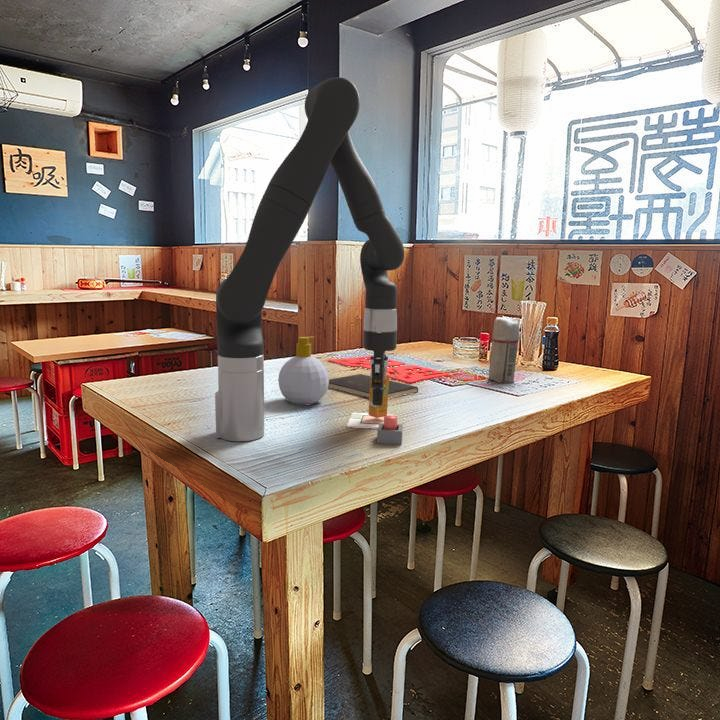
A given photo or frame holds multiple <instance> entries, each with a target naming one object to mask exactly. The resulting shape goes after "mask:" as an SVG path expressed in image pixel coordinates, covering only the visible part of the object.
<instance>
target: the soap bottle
mask: <svg viewBox="0 0 720 720" xmlns="http://www.w3.org/2000/svg"><path fill="white" fill-rule="evenodd" d="M311 339H312V340H313V339H315V336H299V337H298V343H296V349H295V350H296V351H295V352H296V355H295V356H294V357H293V356H292V357H291V358H289V359H288V360H287V361H286V362H285V363H284V364H283V365H282V367H281V368H280V370H279V373H278V379H277V381H278V387H279V388H278V389H279V390H280V392H281V395H282V396H283V397H284V398H285V400H286V401H288V402H289V403H290V404H293V405H296V406H297V405H298V406H310V405H314V404H316V403H317V402H319V401H320V400H321V399H322V398H323V397H324V396H325V395H326V393H327V391H328V389H329V387H328V385H329V379H330V378H329V373H328V370H327V368H326V367H325V365H324V364H323V363H322V362H321V361H320V360H319V359H318V358H316V357H314V356H312V343H310V341H309V340H311Z"/></svg>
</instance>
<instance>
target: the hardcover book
mask: <svg viewBox="0 0 720 720" xmlns="http://www.w3.org/2000/svg"><path fill="white" fill-rule="evenodd" d="M329 387H331V388H330V389H333V388H335V389H334V390H337V389H339V390H338V391H341V390H343V391H342V392H344V391H347V392H346V393H348V392H351V393H350V394H352V393H355V394H354V395H356V394H358V395H357V396H359V395H362V396H361V397H363V396H366V397H365V398H367V397H369V393H370V375H368V374H362V373H359V374H358V373H357V374H353V375H347V376H340V377H336V378H335V377H334V378H329V385H328V388H329ZM414 392H418V393H419V387H418V386H416V385H413V384H407V383H403V382H399V381H395V380H390V379H389V391H388V398H391V397H395V398H397V397H396V396H399V397H401V396H400V395H404V394H408V395H410V394H409V393H412V394H415V393H414ZM404 396H405V395H404ZM391 399H392V398H391Z"/></svg>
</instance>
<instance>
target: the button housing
mask: <svg viewBox="0 0 720 720" xmlns="http://www.w3.org/2000/svg"><path fill="white" fill-rule="evenodd" d="M403 427H404V425H403V423H402V424H400V423H399V424H398V423H397V430H386V429H384V424H383V423H379V426H378V429H376V430H377V433H376V434H377V435H376V436H377V437H376V440H377V441H376V444H379V443H380V444H383V445H397V444H403V433H404V432H403V429H404V428H403ZM380 444H379V445H380Z"/></svg>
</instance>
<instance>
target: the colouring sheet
mask: <svg viewBox="0 0 720 720" xmlns="http://www.w3.org/2000/svg"><path fill="white" fill-rule="evenodd" d="M387 415H393V414H388V413H387ZM379 423H383V424H384V417H380V418H375V417H372V416H370V415H369V414H368V412H367V413H366V412H352V413H351V415H350V417H349V420H348V422H347V424H346V428H350V427H351V428H353V429H354V428H356V429H369V428H371V429H373V430H374V429H375V430H378V426H379ZM371 429H370V430H371Z"/></svg>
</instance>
